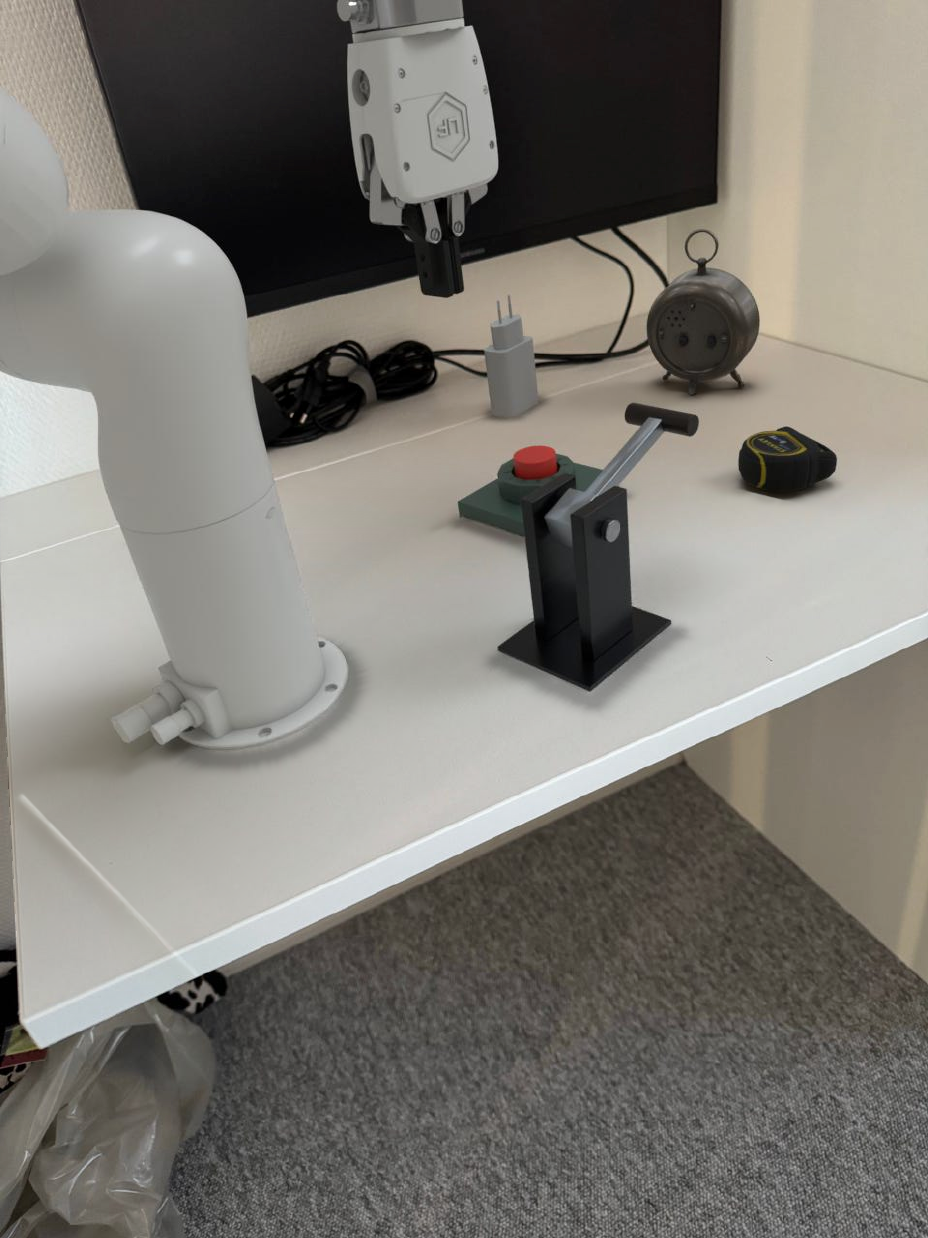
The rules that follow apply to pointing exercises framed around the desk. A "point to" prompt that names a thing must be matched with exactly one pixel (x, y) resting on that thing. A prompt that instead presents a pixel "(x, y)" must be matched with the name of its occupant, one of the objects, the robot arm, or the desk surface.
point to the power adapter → (510, 367)
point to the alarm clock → (703, 323)
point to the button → (535, 462)
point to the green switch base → (516, 494)
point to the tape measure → (784, 460)
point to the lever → (620, 462)
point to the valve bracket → (580, 590)
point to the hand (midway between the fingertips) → (442, 292)
